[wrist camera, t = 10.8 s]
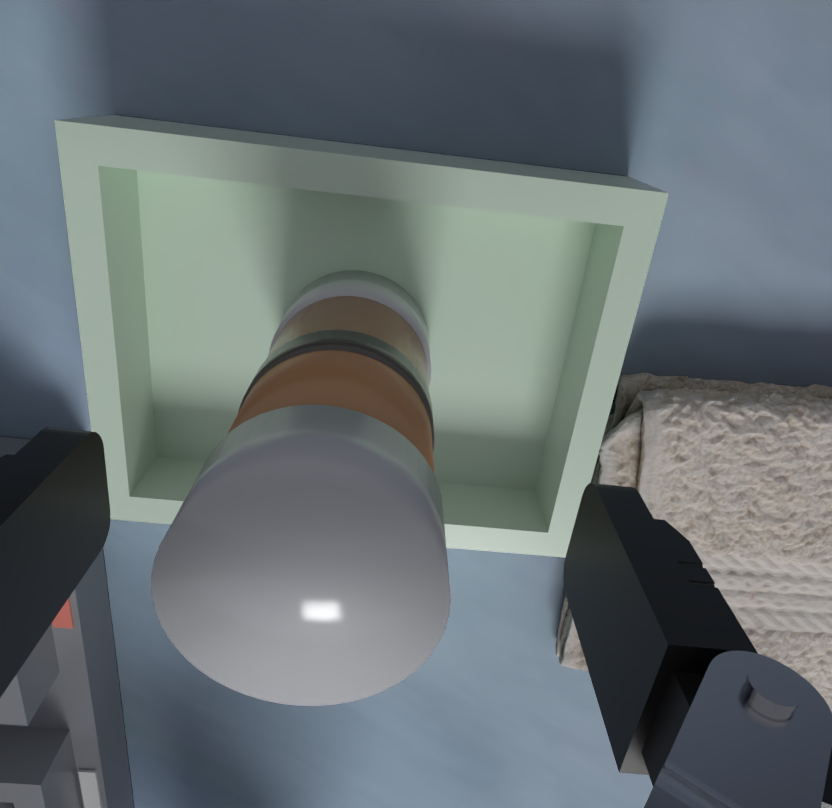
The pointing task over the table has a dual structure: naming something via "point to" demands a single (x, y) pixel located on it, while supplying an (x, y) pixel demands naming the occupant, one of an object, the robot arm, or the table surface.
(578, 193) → the parts tray
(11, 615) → the robot arm
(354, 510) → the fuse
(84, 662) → the fuse block
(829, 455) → the washcloth
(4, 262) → the table surface
